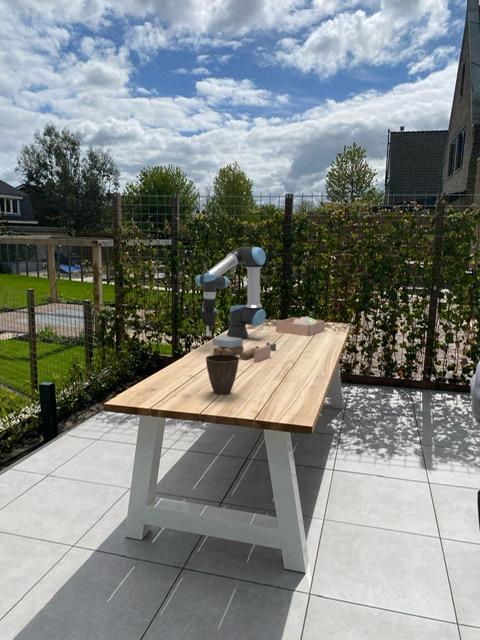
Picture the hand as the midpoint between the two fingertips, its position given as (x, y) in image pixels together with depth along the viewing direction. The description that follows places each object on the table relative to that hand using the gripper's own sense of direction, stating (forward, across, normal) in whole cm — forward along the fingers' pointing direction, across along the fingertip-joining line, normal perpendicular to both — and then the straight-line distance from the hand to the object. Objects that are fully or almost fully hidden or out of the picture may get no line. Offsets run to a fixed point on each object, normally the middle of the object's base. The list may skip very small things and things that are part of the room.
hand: (208, 336), depth 307 cm
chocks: (+9, +21, 0) cm, 23 cm away
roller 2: (+10, +18, 0) cm, 20 cm away
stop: (+9, +38, 0) cm, 40 cm away
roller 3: (+9, +30, 0) cm, 31 cm away
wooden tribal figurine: (+8, +16, +104) cm, 105 cm away
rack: (+9, +31, +18) cm, 37 cm away
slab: (+4, +14, 0) cm, 15 cm away
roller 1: (+10, +12, 0) cm, 15 cm away
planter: (+8, +17, +101) cm, 103 cm away
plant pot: (+10, +55, -68) cm, 88 cm away
